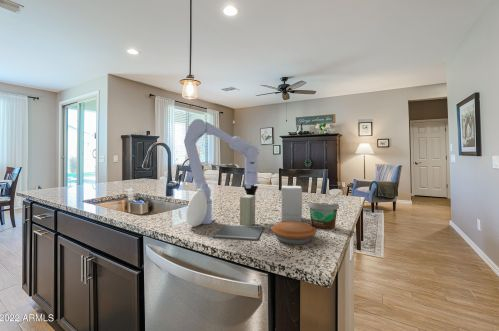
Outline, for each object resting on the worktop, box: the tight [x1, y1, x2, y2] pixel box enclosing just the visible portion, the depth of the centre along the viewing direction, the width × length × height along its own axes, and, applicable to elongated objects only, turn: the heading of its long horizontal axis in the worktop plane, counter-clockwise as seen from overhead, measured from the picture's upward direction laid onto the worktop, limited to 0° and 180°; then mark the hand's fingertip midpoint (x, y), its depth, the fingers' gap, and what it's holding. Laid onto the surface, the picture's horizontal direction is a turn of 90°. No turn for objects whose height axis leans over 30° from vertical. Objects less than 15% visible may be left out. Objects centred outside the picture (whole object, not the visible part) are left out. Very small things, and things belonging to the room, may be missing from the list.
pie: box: [271, 221, 318, 245], centre depth 84 cm, size 16×16×5 cm
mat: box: [212, 224, 264, 242], centre depth 90 cm, size 16×15×1 cm
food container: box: [307, 200, 340, 230], centre depth 96 cm, size 12×6×10 cm, turn 62°
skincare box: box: [239, 194, 256, 226], centre depth 101 cm, size 6×4×12 cm
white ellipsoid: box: [185, 183, 207, 228], centre depth 97 cm, size 8×8×18 cm
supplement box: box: [281, 185, 303, 222], centre depth 109 cm, size 9×9×15 cm
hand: (251, 202), depth 109 cm, fingers closed
